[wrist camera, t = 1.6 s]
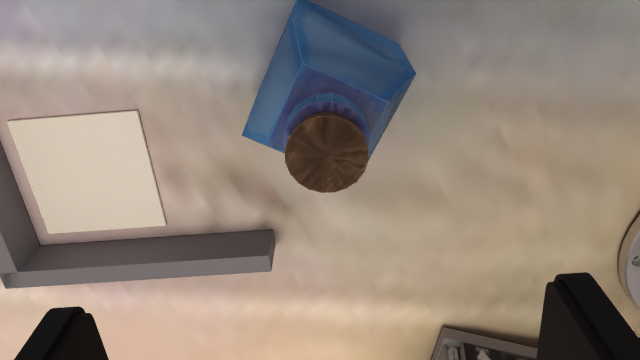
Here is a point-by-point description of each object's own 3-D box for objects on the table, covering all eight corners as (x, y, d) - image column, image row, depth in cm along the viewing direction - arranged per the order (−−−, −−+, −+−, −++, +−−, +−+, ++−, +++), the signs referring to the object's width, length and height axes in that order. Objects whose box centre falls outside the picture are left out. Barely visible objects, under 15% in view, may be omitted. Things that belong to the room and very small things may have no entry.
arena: (241, 15, 29) (232, 25, 26) (275, 244, 36) (271, 271, 33) (-60, 41, 30) (-98, 54, 27) (29, 261, 37) (5, 288, 34)
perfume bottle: (298, -4, 29) (282, 44, 18) (399, 44, 30) (440, 116, 19) (256, 96, 31) (220, 191, 20) (350, 137, 32) (363, 247, 22)
